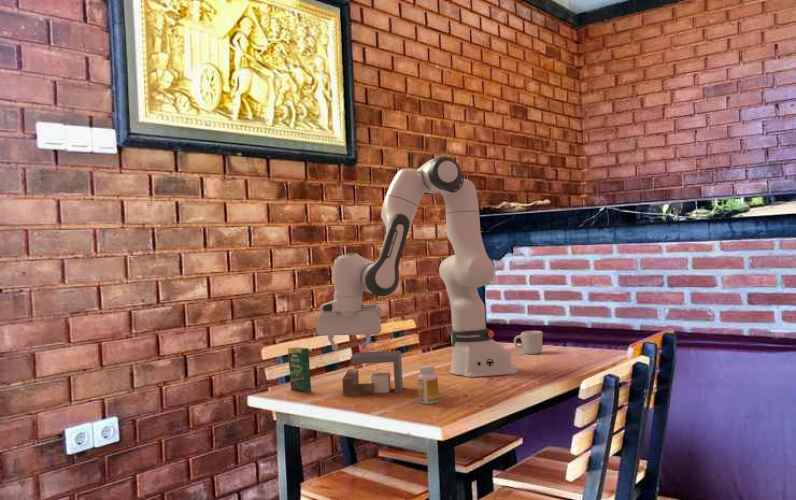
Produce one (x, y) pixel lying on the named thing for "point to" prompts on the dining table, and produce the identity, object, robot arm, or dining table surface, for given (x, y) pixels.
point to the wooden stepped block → (355, 385)
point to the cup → (530, 341)
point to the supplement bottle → (427, 385)
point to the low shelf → (382, 358)
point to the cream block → (381, 382)
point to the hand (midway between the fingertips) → (349, 349)
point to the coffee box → (299, 369)
